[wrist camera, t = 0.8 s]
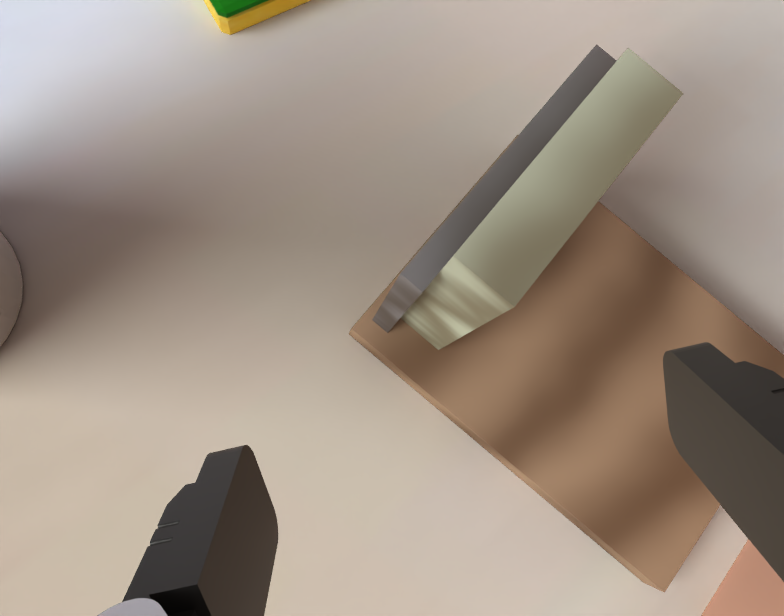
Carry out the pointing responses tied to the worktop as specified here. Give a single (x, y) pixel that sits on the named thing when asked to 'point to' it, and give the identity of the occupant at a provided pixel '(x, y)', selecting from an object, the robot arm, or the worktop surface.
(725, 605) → the terracotta book
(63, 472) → the worktop surface
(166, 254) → the worktop surface
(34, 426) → the worktop surface
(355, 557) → the worktop surface
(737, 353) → the shelf ledge
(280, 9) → the dish sponge
